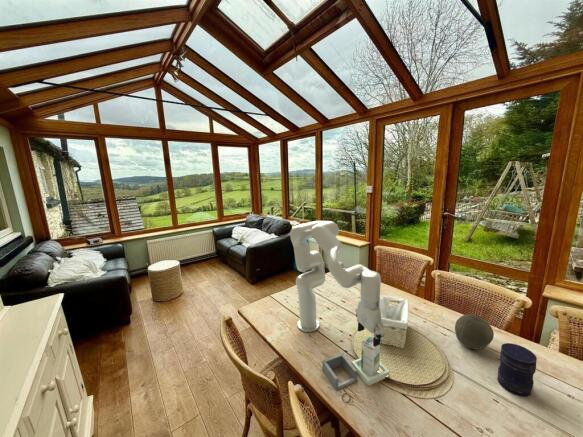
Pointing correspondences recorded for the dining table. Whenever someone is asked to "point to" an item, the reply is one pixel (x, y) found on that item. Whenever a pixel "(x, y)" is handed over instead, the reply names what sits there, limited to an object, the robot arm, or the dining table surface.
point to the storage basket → (394, 320)
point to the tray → (368, 378)
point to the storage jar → (516, 369)
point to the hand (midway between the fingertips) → (368, 337)
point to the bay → (335, 362)
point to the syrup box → (370, 357)
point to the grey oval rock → (473, 331)
